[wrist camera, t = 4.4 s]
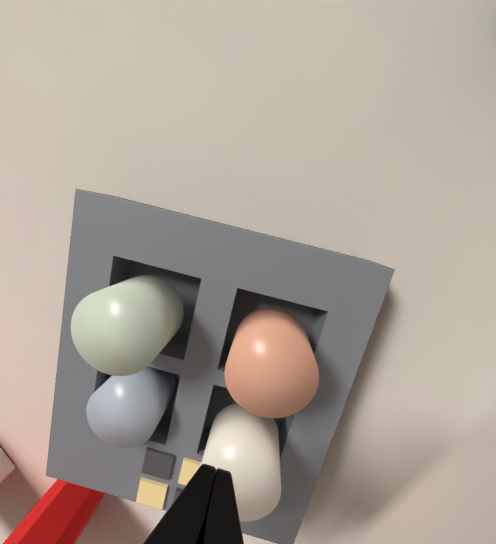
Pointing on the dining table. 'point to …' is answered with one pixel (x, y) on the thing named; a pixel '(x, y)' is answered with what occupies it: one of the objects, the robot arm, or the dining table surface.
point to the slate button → (130, 406)
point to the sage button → (126, 324)
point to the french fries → (57, 515)
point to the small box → (5, 466)
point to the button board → (208, 347)
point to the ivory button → (247, 459)
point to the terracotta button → (271, 364)
